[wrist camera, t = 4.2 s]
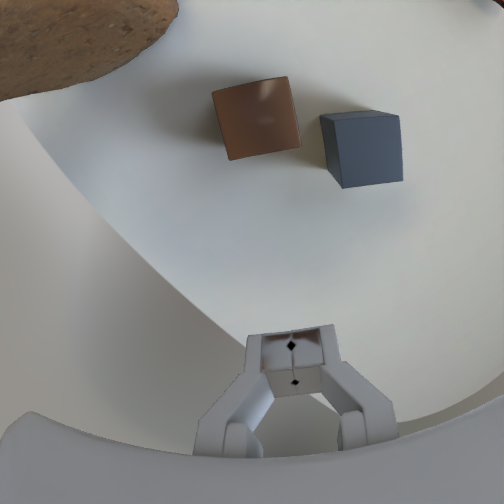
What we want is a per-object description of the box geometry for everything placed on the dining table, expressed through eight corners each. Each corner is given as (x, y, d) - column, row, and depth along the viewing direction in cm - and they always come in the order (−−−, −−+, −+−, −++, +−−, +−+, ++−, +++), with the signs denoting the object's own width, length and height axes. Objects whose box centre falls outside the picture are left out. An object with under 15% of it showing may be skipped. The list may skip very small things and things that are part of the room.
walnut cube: (236, 147, 19) (228, 161, 16) (222, 93, 17) (210, 91, 14) (294, 136, 19) (302, 147, 15) (282, 80, 17) (287, 75, 13)
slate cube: (327, 170, 20) (342, 189, 16) (319, 115, 18) (333, 120, 14) (379, 164, 19) (403, 181, 16) (374, 110, 17) (399, 115, 13)
